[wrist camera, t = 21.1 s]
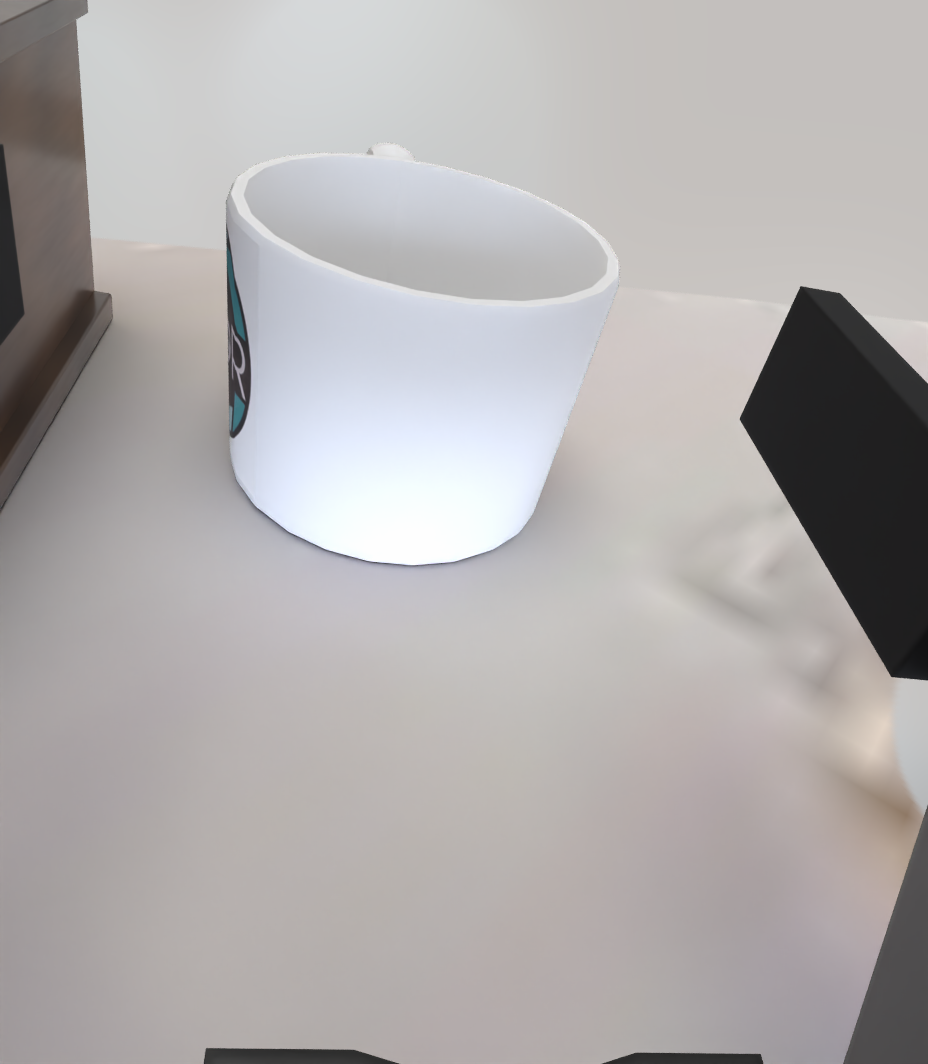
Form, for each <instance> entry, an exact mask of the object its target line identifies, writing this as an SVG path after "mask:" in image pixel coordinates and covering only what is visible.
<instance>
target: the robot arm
mask: <svg viewBox="0 0 928 1064" xmlns="http://www.w3.org/2000/svg"><path fill="white" fill-rule="evenodd" d="M24 314H25V312H24V304H23V296H22V288H21V281H20V273H19V265H18V257H17V249H16V241H15V233H14V225H13V217H12V209H11V202H10V194H9V186H8V178H7V170H6V162H5V154H4V146H3V144H0V345H1V344H2V343H3V342H4V340H5V339H6V338H7V336H8V335H9V334H10V333H11V331H12V330H13V329H14V327H15V326H16V325H17V323H18V322H19V321H20V320H21V318H22V317H23V316H24ZM740 421H741V422H742V424H743V426H744V428H745V429H746V431H747V433H748V434H749V436H750V438H751V439H752V441H753V443H754V444H755V446H756V448H757V450H758V451H759V453H760V455H761V456H762V458H763V460H764V461H765V463H766V465H767V467H768V468H769V470H770V472H771V473H772V475H773V477H774V478H775V480H776V482H777V484H778V485H779V487H780V489H781V490H782V492H783V494H784V495H785V497H786V499H787V501H788V502H789V504H790V506H791V507H792V509H793V511H794V512H795V514H796V516H797V517H798V519H799V521H800V523H801V524H802V526H803V528H804V529H805V531H806V533H807V534H808V536H809V538H810V540H811V541H812V543H813V545H814V546H815V548H816V550H817V551H818V553H819V555H820V557H821V558H822V560H823V562H824V563H825V565H826V567H827V568H828V570H829V572H830V573H831V575H832V577H833V579H834V580H835V582H836V584H837V585H838V587H839V589H840V590H841V592H842V594H843V596H844V597H845V599H846V601H847V602H848V604H849V606H850V607H851V609H852V611H853V613H854V614H855V616H856V618H857V619H858V621H859V623H860V624H861V626H862V628H863V629H864V631H865V633H866V635H867V636H868V638H869V640H870V641H871V643H872V645H873V646H874V648H875V650H876V652H877V653H878V655H879V657H880V658H881V660H882V662H883V663H884V665H885V667H886V669H887V670H888V672H889V674H890V675H891V677H897V678H908V679H919V680H928V383H927V382H926V381H925V380H924V379H923V378H922V377H921V376H920V375H919V374H918V373H917V372H916V371H915V370H914V369H913V368H912V367H911V366H910V365H909V364H908V363H907V362H906V361H905V360H904V359H903V358H902V357H901V356H900V355H899V354H898V353H897V351H896V350H895V349H894V348H893V347H892V346H891V345H890V344H889V343H888V342H887V341H886V340H885V339H884V338H883V337H882V336H881V335H880V334H879V333H878V332H877V331H876V330H875V329H874V328H873V327H872V326H871V325H870V324H869V323H868V322H867V321H866V320H865V319H864V317H863V316H862V315H861V314H860V313H859V312H858V311H857V310H856V309H855V308H854V307H853V306H852V305H851V304H850V303H849V302H848V301H847V300H846V299H845V298H844V297H843V296H842V295H841V294H840V293H836V292H830V291H824V290H819V289H813V288H807V287H802V286H801V287H800V289H799V291H798V293H797V295H796V298H795V300H794V302H793V304H792V306H791V308H790V311H789V313H788V315H787V317H786V319H785V322H784V324H783V326H782V328H781V330H780V332H779V335H778V337H777V339H776V341H775V343H774V345H773V348H772V350H771V352H770V354H769V356H768V358H767V361H766V363H765V365H764V367H763V369H762V371H761V374H760V376H759V378H758V380H757V382H756V384H755V387H754V389H753V391H752V393H751V395H750V398H749V400H748V402H747V404H746V406H745V408H744V411H743V413H742V415H741V417H740ZM204 1064H398V1063H395V1062H392V1061H388V1060H385V1059H382V1058H379V1057H375V1056H372V1055H369V1054H366V1053H362V1052H359V1051H356V1050H322V1049H226V1048H206V1052H205V1059H204ZM603 1064H763V1060H762V1057H761V1054H706V1053H634V1054H631V1055H628V1056H625V1057H621V1058H618V1059H615V1060H612V1061H609V1062H606V1063H603ZM843 1064H928V806H927V809H926V812H925V815H924V818H923V821H922V825H921V828H920V831H919V834H918V837H917V840H916V843H915V846H914V849H913V852H912V855H911V858H910V861H909V864H908V867H907V870H906V873H905V876H904V880H903V883H902V886H901V889H900V892H899V895H898V898H897V901H896V904H895V907H894V910H893V913H892V916H891V919H890V922H889V925H888V928H887V932H886V935H885V938H884V941H883V944H882V947H881V950H880V953H879V956H878V959H877V962H876V965H875V968H874V971H873V974H872V977H871V980H870V984H869V987H868V990H867V993H866V996H865V999H864V1002H863V1005H862V1008H861V1011H860V1014H859V1017H858V1020H857V1023H856V1026H855V1029H854V1032H853V1036H852V1039H851V1042H850V1045H849V1048H848V1051H847V1054H846V1057H845V1060H844V1063H843Z"/></svg>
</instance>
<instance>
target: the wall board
mask: <svg viewBox="0 0 928 1064" xmlns="http://www.w3.org/2000/svg"><path fill="white" fill-rule="evenodd" d="M86 13H88V5H87V0H0V144H3V146H4V154H5V162H6V170H7V178H8V186H9V194H10V202H11V209H12V217H13V225H14V233H15V241H16V249H17V257H18V265H19V273H20V281H21V288H22V296H23V304H24V312H25V314H24V316H23V317H22V318H21V320H20V321H19V322H18V323H17V325H16V326H15V327H14V329H13V330H12V331H11V333H10V334H9V335H8V336H7V338H6V339H5V340H4V342H3V343H2V344H1V345H0V509H1V507H2V506H3V504H4V502H5V500H6V499H7V497H8V495H9V494H10V492H11V490H12V488H13V487H14V485H15V483H16V482H17V480H18V478H19V476H20V475H21V473H22V471H23V470H24V468H25V466H26V464H27V463H28V461H29V459H30V458H31V456H32V454H33V453H34V451H35V449H36V447H37V446H38V444H39V442H40V441H41V439H42V437H43V435H44V434H45V432H46V430H47V429H48V427H49V425H50V423H51V422H52V420H53V418H54V417H55V415H56V413H57V411H58V410H59V408H60V406H61V405H62V403H63V401H64V400H65V398H66V396H67V394H68V393H69V391H70V389H71V388H72V386H73V384H74V382H75V381H76V379H77V377H78V376H79V374H80V372H81V370H82V369H83V367H84V365H85V364H86V362H87V360H88V358H89V357H90V355H91V353H92V352H93V350H94V348H95V347H96V345H97V343H98V341H99V340H100V338H101V336H102V335H103V333H104V331H105V329H106V328H107V326H108V324H109V323H110V321H111V319H112V317H113V314H112V296H111V294H109V293H104V292H97V291H94V280H93V265H92V250H91V235H90V220H89V207H88V206H89V205H88V190H87V176H86V162H85V161H86V160H85V145H84V131H83V117H82V101H81V88H80V87H81V86H80V71H79V56H78V41H77V26H76V19H78V18H80V17H81V16H83V15H85V14H86Z"/></svg>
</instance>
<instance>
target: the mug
mask: <svg viewBox="0 0 928 1064" xmlns="http://www.w3.org/2000/svg"><path fill="white" fill-rule="evenodd" d="M226 232H227V233H226V237H227V302H228V366H229V431H230V458H231V462H232V465H233V469H234V473H235V477H236V481H237V482H238V483H239V485H240V486H241V487H242V489H243V490H244V491H245V493H246V494H247V496H248V497H249V498H250V500H251V501H252V502H253V504H254V505H255V506H256V507H257V508H258V509H260V510H261V511H262V512H264V513H265V514H266V515H268V516H269V517H270V518H271V519H273V520H274V521H275V522H277V523H278V524H279V525H280V526H282V527H283V528H284V529H286V530H287V531H288V532H290V533H292V534H294V535H296V536H298V537H301V538H303V539H305V540H307V541H309V542H311V543H313V544H315V545H317V546H319V547H322V548H324V549H326V550H329V551H333V552H336V553H340V554H344V555H348V556H351V557H355V558H359V559H362V560H366V561H371V562H382V563H393V564H403V565H423V564H435V563H446V562H455V561H458V560H461V559H465V558H468V557H471V556H474V555H478V554H481V553H484V552H487V551H490V550H493V549H495V548H496V547H498V546H499V545H501V544H503V543H504V542H506V541H507V540H509V539H510V538H512V537H513V536H515V535H517V534H518V533H519V532H520V531H521V529H522V528H523V527H524V525H525V524H526V523H527V521H528V520H529V519H530V517H531V516H532V514H533V513H534V510H535V507H536V505H537V502H538V499H539V497H540V494H541V491H542V489H543V486H544V483H545V481H546V478H547V475H548V473H549V470H550V467H551V465H552V462H553V459H554V457H555V454H556V451H557V449H558V446H559V443H560V441H561V438H562V435H563V433H564V430H565V428H566V425H567V422H568V420H569V417H570V414H571V412H572V409H573V406H574V404H575V401H576V398H577V396H578V393H579V390H580V388H581V385H582V382H583V380H584V377H585V374H586V372H587V369H588V366H589V364H590V361H591V358H592V356H593V353H594V350H595V348H596V345H597V342H598V340H599V337H600V335H601V332H602V329H603V327H604V324H605V321H606V319H607V316H608V313H609V311H610V308H611V305H612V303H613V300H614V297H615V295H616V292H617V289H618V287H619V276H620V265H619V260H618V258H617V256H616V255H615V253H614V251H613V249H612V248H611V246H610V245H609V243H608V241H607V240H605V239H604V238H603V237H602V236H601V235H600V234H599V233H598V232H596V231H595V230H594V229H593V228H592V227H591V226H590V225H588V224H587V223H586V222H584V221H582V220H581V219H579V218H577V217H576V216H574V215H572V214H571V213H569V212H567V211H565V210H564V209H562V208H561V207H559V206H557V205H555V204H553V203H550V202H548V201H546V200H544V199H542V198H539V197H537V196H535V195H533V194H531V193H528V192H526V191H524V190H521V189H518V188H515V187H512V186H510V185H507V184H504V183H501V182H498V181H495V180H492V179H489V178H486V177H483V176H479V175H476V174H472V173H468V172H464V171H460V170H457V169H453V168H449V167H445V166H440V165H435V164H430V163H424V162H419V161H415V158H414V156H413V155H412V154H411V153H410V152H409V151H408V150H407V149H405V148H404V147H401V146H399V145H396V144H393V143H378V144H376V145H374V146H372V147H371V148H369V150H368V152H367V154H354V153H352V154H351V153H313V154H303V155H293V156H284V157H280V158H276V159H273V160H270V161H266V162H262V163H259V164H255V165H254V166H252V167H251V168H250V169H248V170H247V171H245V172H244V173H242V174H241V175H239V176H238V177H237V178H236V180H235V181H234V183H233V184H232V187H231V189H230V192H229V194H228V197H227V200H226Z"/></svg>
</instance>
